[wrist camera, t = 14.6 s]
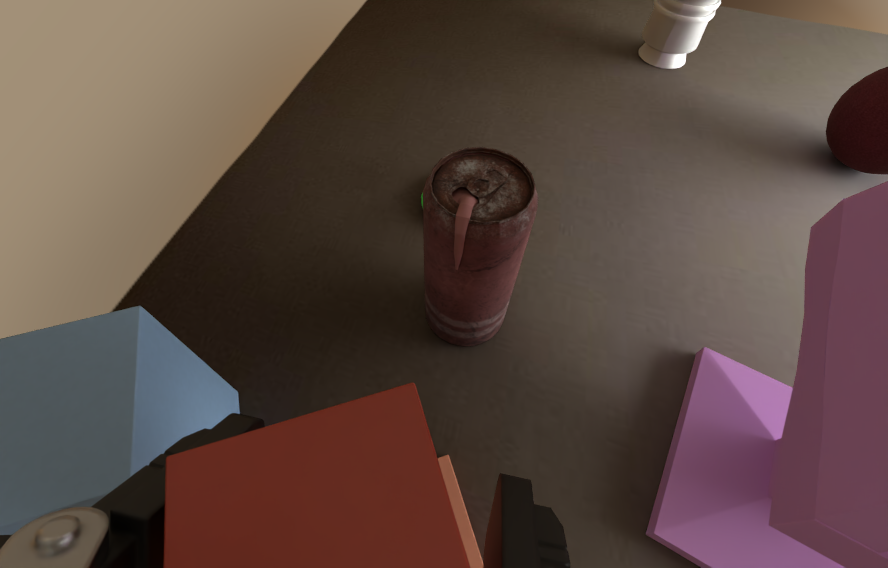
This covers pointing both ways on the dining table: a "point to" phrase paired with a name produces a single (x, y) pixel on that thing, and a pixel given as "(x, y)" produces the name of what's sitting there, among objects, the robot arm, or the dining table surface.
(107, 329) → the blue stand
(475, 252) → the brown drink cup
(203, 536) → the red post
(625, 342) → the dining table surface
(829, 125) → the decorative ball
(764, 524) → the vase
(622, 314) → the dining table surface
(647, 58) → the white ridged cylinder
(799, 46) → the dining table surface
